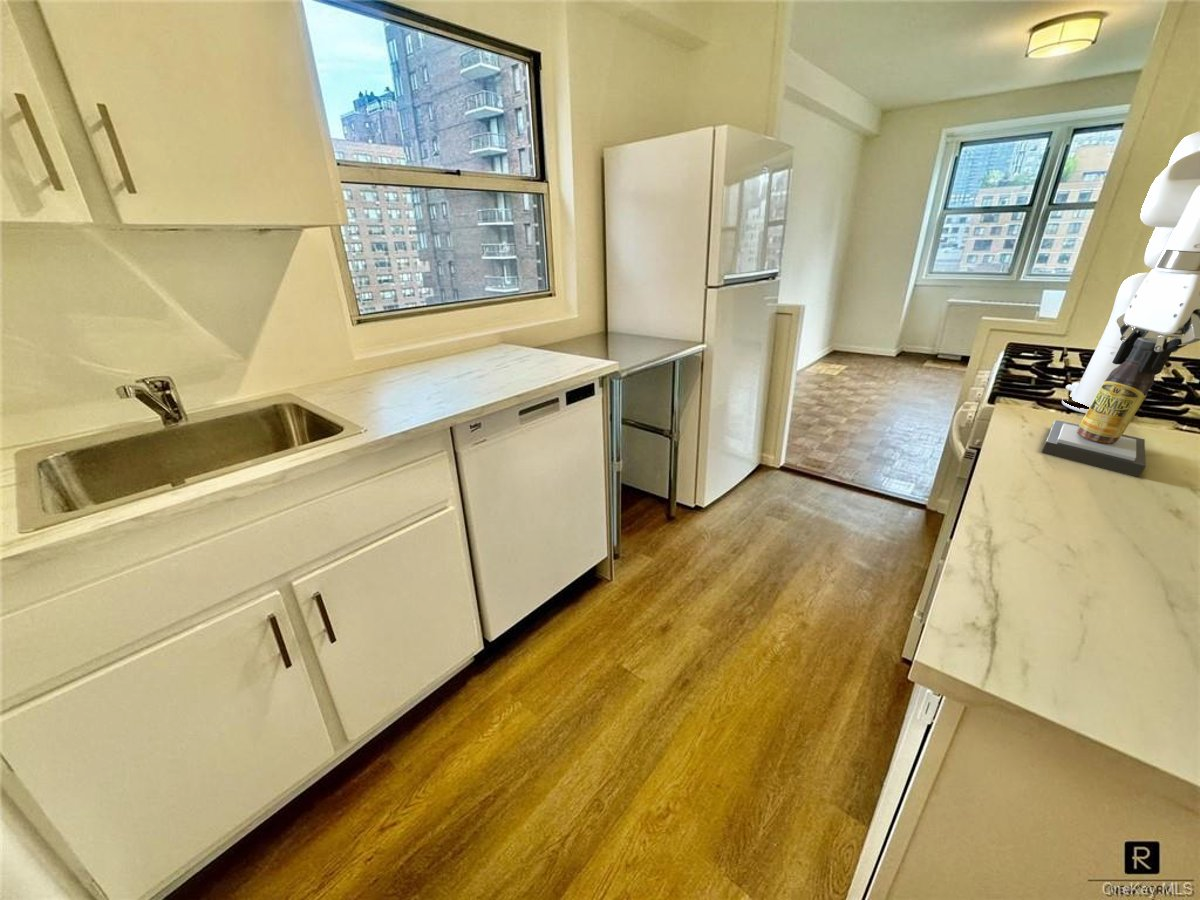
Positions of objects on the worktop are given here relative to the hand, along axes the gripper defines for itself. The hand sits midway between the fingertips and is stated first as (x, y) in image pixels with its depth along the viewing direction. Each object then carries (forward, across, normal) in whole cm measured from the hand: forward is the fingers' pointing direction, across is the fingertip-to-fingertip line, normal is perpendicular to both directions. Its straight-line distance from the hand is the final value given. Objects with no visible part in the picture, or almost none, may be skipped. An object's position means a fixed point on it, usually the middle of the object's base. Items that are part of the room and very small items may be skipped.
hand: (1135, 367), depth 89 cm
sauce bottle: (+15, 0, 0) cm, 15 cm away
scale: (+18, +1, -1) cm, 18 cm away
